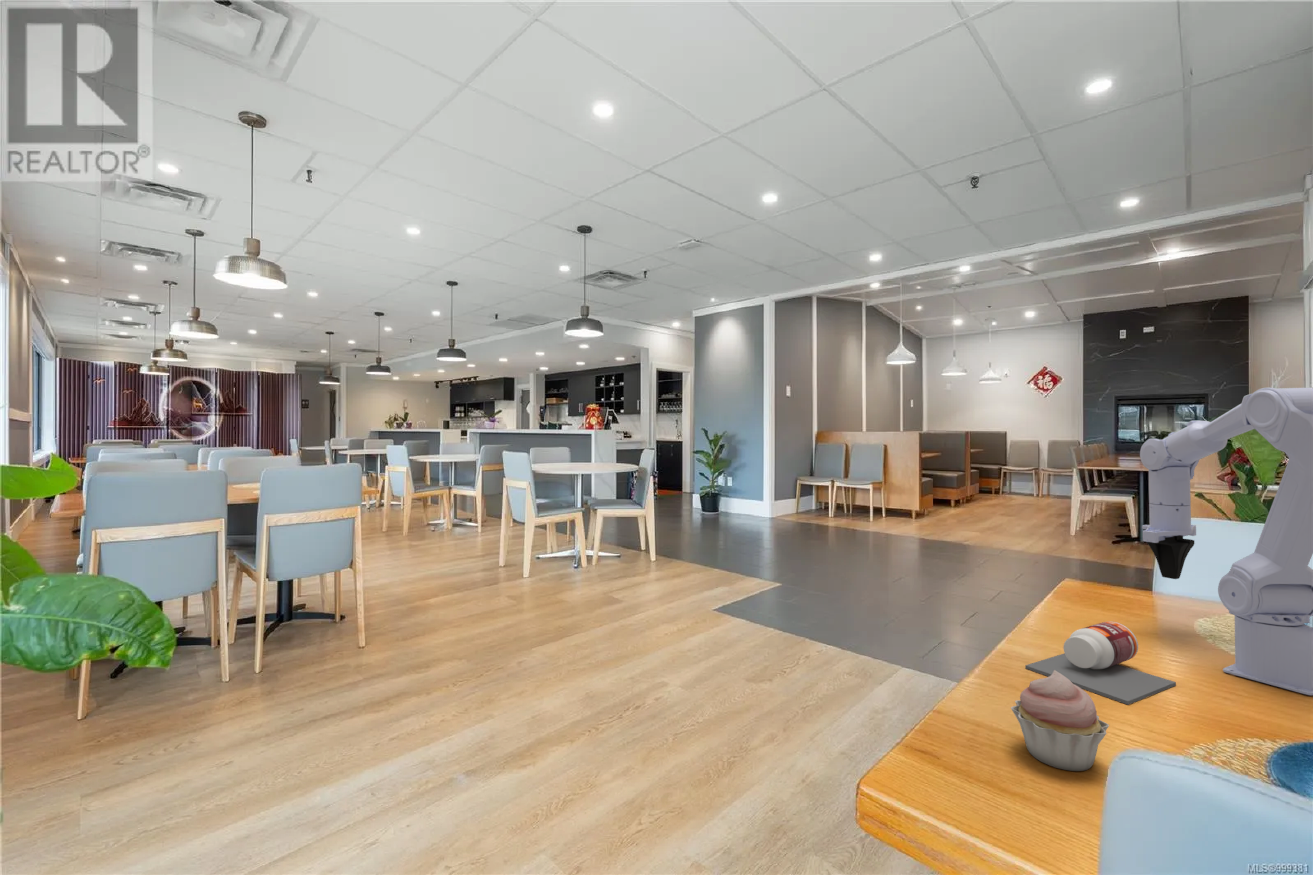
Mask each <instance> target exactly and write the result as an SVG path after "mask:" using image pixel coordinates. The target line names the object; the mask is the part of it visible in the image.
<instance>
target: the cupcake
mask: <svg viewBox="0 0 1313 875" xmlns="http://www.w3.org/2000/svg"><path fill="white" fill-rule="evenodd" d="M1019 699H1020V700H1018V699H1017V700H1015V701H1014V702H1015V704H1016V705H1013V706H1011V707H1010V709H1011V711H1012V713H1013V714H1014V716H1015V718H1016V719H1017V721H1018V723H1019V726H1020V729H1021V732H1022V734H1023V739H1024V742H1025V747H1026V748H1027V751H1028V753H1029V754H1030V755H1031V756H1032V757H1034V758H1035V759H1036V760H1037V761H1040V762H1041V763H1043V764H1045V765H1049V766H1051V767H1053V768H1056V769H1060V770H1065V771H1071V772H1082V771H1087V770H1090V768H1092V766H1093V765H1094V763H1095V761H1096V760H1095V759H1096V757H1097V752H1098V750H1099V749H1098V748H1099V744H1100V743H1102V741H1103V739H1104V738H1105V737H1106V735H1107V729H1109V726H1110V724H1109V723H1107V722H1105V721H1103V720H1100V716H1099V715H1098V713H1097V709H1096V704H1095V702H1094V700H1093V699H1092V697H1091V696H1090V695H1089V694H1088V692H1087V691H1086V690H1085V689H1082V688H1080V687H1078V686H1076V685H1074V684H1073V683H1072V682H1071V681H1070V680H1069V679H1068V678H1066V677H1065V676H1063V675H1062V674H1060V673H1059V672H1057V671H1055V670H1054V671H1053V673H1052V675H1051V676H1049V677H1048V676H1046V677H1044V678H1038V679H1034V680H1032V681H1030V682H1029V685H1028V686H1027V687H1026V688H1024V689H1023V690H1022V691H1021V693H1020V696H1019Z"/></svg>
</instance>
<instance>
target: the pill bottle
mask: <svg viewBox="0 0 1313 875" xmlns="http://www.w3.org/2000/svg"><path fill="white" fill-rule="evenodd" d="M1063 652H1064V653H1065V655H1066V657H1067V658H1068V660H1069V661H1070V662H1071V663H1073V664H1074V665H1076V666H1078V667H1080V668H1091V669H1097V670H1099V669H1104V668H1107V667H1110V666H1113V665H1116V664H1118V665H1120V664H1121V663H1123V662H1127V661H1130V660H1131V659H1133V658H1135V656H1136V655H1137V653H1138V652H1139V643H1138V639H1137V637H1136V635H1135V634H1134V632H1132V630H1131V629H1129V628H1128V627H1127V626H1125V625H1124V624H1121V623H1119V622H1116V621H1103V622H1099V623H1096V624H1092V625H1089V626H1086V627H1082V628H1079V629H1076V630H1074V631H1073V632H1072V633H1071V634H1070V636H1069V638H1067V639H1066V640H1065V641H1064V643H1063ZM1064 653H1063V654H1064Z"/></svg>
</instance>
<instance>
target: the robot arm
mask: <svg viewBox="0 0 1313 875" xmlns="http://www.w3.org/2000/svg"><path fill="white" fill-rule="evenodd" d="M1252 430H1255V431H1256V432H1257V433H1259V435H1261V436H1262V437H1263V438H1264V439H1265V440H1266V441H1267V442H1268V443H1269V444H1271V446H1273V447H1274V448H1275V449H1276V450H1278V451H1281V452H1284V453H1285V455H1286V456H1287V457H1288V462H1287V464H1286V467H1285V470H1284V472H1283V475H1282V478H1281V480H1280V482H1279V485H1278V487H1277V491H1276V493H1275V496H1274V498H1273V501H1272V503H1271V506H1270V509H1269V512H1268V513H1267V514H1268V515H1267V517H1266V520H1265V523H1264V525H1263V528H1262V530H1261V533H1260V536H1259V538H1258V541H1257V544H1256V546H1255V549H1254V552H1252V553H1251V554H1249V555H1247V556H1245V557H1241V559H1240V558H1239V560H1237V561H1234V562H1233V563H1232V564H1231V567H1230V569H1229V571H1228V572H1227V573H1226V574H1224V575H1223V576H1222V577H1221V579H1220V580H1219V582H1218V586H1217V593H1218V597H1219V600H1220V602H1221V603H1222V604H1223V606H1224V607H1225V608H1226V609H1227V611H1228V614H1230V615H1233V616H1234V663H1233V664H1230V665H1228V666H1225V667H1223V668H1222V671H1223V672H1224V673H1227V674H1230V675H1233V676H1237V677H1241V678H1245V679H1248V680H1251V681H1254V682H1255V681H1256V682H1259V683H1263V684H1267V685H1271V686H1274V687H1278V688H1281V689H1284V690H1288V691H1292V692H1296V693H1300V694H1303V695H1307V696H1313V627H1312V626H1310V625H1307V624H1310V617H1313V568H1312V567H1310V566H1309V565H1310V561H1311V559H1312V558H1313V557H1312V556H1313V387H1286V388H1285V387H1284V388H1283V387H1281V388H1278V387H1277V388H1276V387H1263V388H1262V387H1261V388H1258V389H1257V390H1255V391H1254V392H1252V393H1249V394H1247V395H1244V396H1243V398H1242V401H1241V403H1240V404H1238V405H1236V406H1235V407H1233V408H1232V409H1230V410H1228V411H1226V412H1225V413H1223V414H1222V415H1220V416H1218V417H1216V418H1215V419H1213V420H1211V421H1209V420H1200V419H1199V420H1190V421H1188V422H1187V423H1186V426H1185V427H1184V428H1181V429H1180V430H1178V431H1171V432H1170V433H1168V435H1167V436H1166V437H1164V438H1163V439H1159V438H1148V439H1147V440H1146V441H1145V442H1144V443H1142V445H1141V447H1140V452H1139V458H1140V461H1141V465H1142V466H1143V467H1144V468H1146V469H1147V470H1148V503H1149V504H1148V510H1149V511H1148V512H1149V513H1148V514H1149V516H1148V518H1149V522H1148V523H1149V524H1143V525H1141V529H1142V541H1143V542H1146V543H1147V545H1148V547H1149V548H1150V549H1151V551H1152V553H1153V555H1154V557H1155V559H1156V561H1157V565H1158V569H1159V571H1160V574H1161V577H1162V578H1166V579H1172V580H1179V579H1180V578H1181V575H1182V571H1183V568H1184V564H1185V562H1186V558H1187V556H1188V555H1189V552H1190V551H1191V550H1192V548H1193V547H1194V545H1195V539H1191V538H1190V539H1189V538H1184V537H1187V536H1192V537H1195V536H1197V525H1196V524H1192V513H1191V512H1192V510H1191V509H1192V508H1191V507H1192V505H1191V502H1192V501H1191V499H1192V498H1191V496H1192V495H1191V480H1193V479H1194V477H1195V469H1196V467H1197V466H1198V465H1199V462H1200V460H1202V459H1203V458H1206V457H1209V456H1211V455H1213V454H1216V453H1217V452H1220V451H1222V450H1223V449H1224V448H1226V447H1227V444H1228V440H1229V439H1232V438H1235V437H1237V436H1239V435H1242V434H1245V433H1247V432H1249V431H1250V432H1251V431H1252Z"/></svg>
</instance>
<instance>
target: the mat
mask: <svg viewBox="0 0 1313 875" xmlns="http://www.w3.org/2000/svg"><path fill="white" fill-rule="evenodd" d="M1024 667H1025V669H1026V670H1028V671H1031V672H1035V673H1037V674H1040V675H1042V676H1046V677H1049V676H1051V675H1052V673H1053V671H1054V670H1055V671H1057V672H1059V673H1060V674H1062V675H1063V676H1065V677H1066V678H1068V679H1069V680H1070V681H1071V682H1072V683H1073V684H1074V685H1076V686H1078V687H1080V688H1081V689H1082V690H1084V691H1088V692H1091V693H1094V694H1097V695H1099V696H1102V697H1104V698H1108V699H1110V700H1113V701H1116V702H1119V703H1122V704H1125V705H1126V706H1127V705H1128V706H1129V705H1131V704H1134V703H1136V702H1139V701H1141V700H1144V699H1146V698H1148V697H1152V696H1154V695H1156V694H1158V693H1160V692H1163V691H1165V690H1168V689H1170V688H1173V687H1176V686H1177V683H1176V681H1174V680H1171V679H1167V678H1164V677H1160V676H1158V675H1153V674H1150V673H1148V672H1144V671H1140V670H1138V669H1134V668H1130V667H1127V666H1123V665H1121V664H1116V665H1113V666H1110V667H1107V668H1104V669H1099V670H1097V669H1091V668H1080V667H1078V666H1076V665H1074V664H1073V663H1071V662H1070V661H1069V660H1068V658H1067V657H1066V655H1065V653H1061V654H1058V655H1054V656H1052V657H1048V658H1045V659H1042V660H1039V661H1038V660H1037V661H1035V662H1032V663H1028V664H1025V666H1024Z"/></svg>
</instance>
